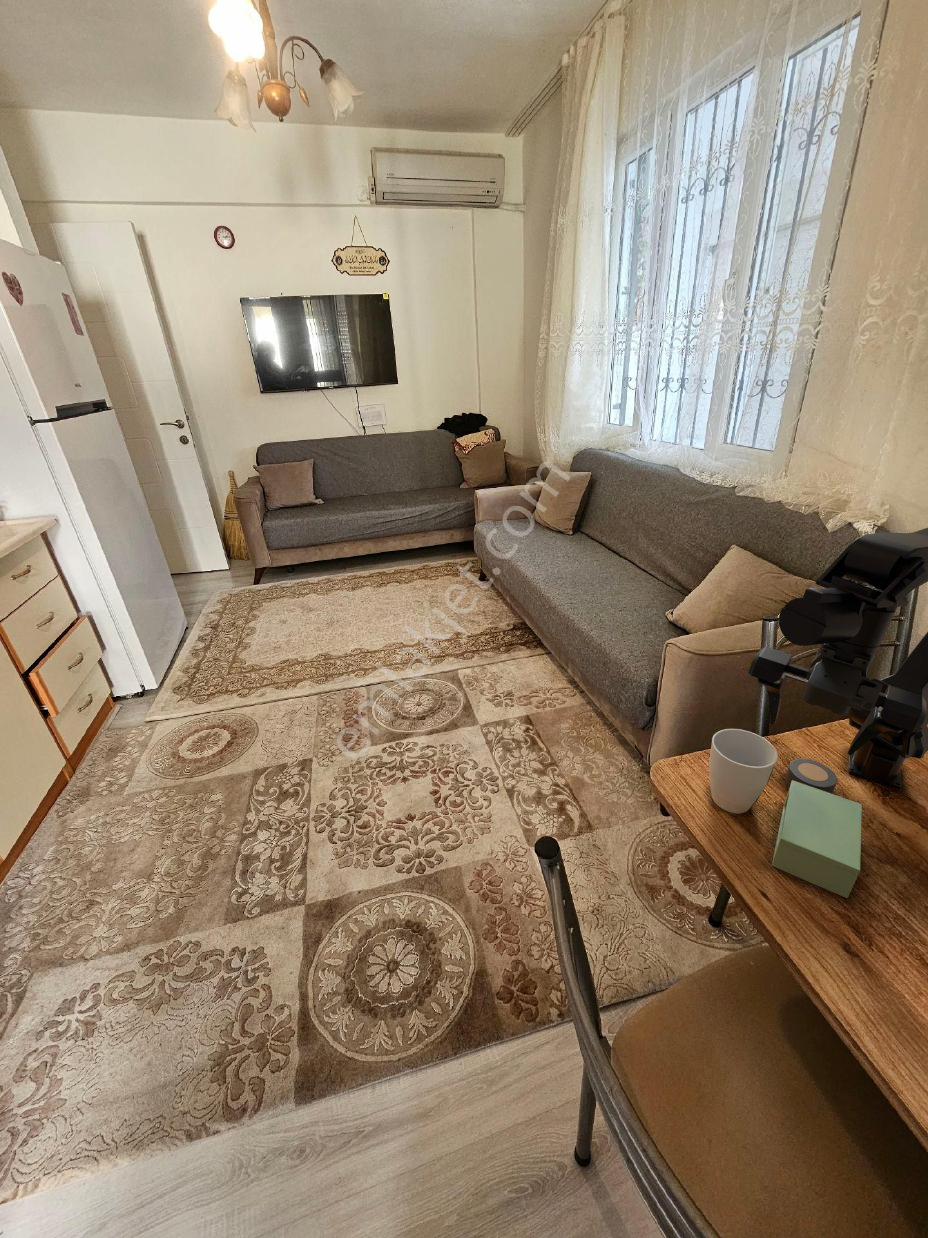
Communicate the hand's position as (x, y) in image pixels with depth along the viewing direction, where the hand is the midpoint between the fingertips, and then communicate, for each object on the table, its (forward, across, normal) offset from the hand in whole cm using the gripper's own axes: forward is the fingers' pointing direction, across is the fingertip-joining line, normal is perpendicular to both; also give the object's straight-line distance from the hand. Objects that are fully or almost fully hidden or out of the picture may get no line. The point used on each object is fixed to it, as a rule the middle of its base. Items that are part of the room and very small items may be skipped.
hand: (809, 738), depth 70 cm
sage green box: (+12, +5, -7) cm, 14 cm away
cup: (+12, -6, -5) cm, 14 cm away
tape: (+10, +2, +5) cm, 12 cm away
